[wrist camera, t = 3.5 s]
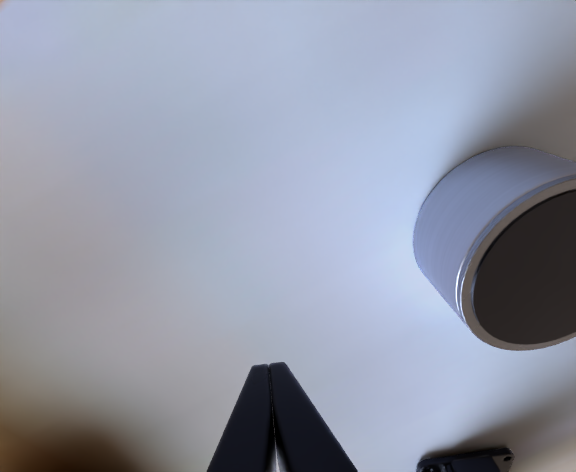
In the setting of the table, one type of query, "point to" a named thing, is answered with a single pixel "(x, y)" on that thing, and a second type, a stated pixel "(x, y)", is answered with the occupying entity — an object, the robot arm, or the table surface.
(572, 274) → the silver pot
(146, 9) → the table surface
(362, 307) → the table surface
